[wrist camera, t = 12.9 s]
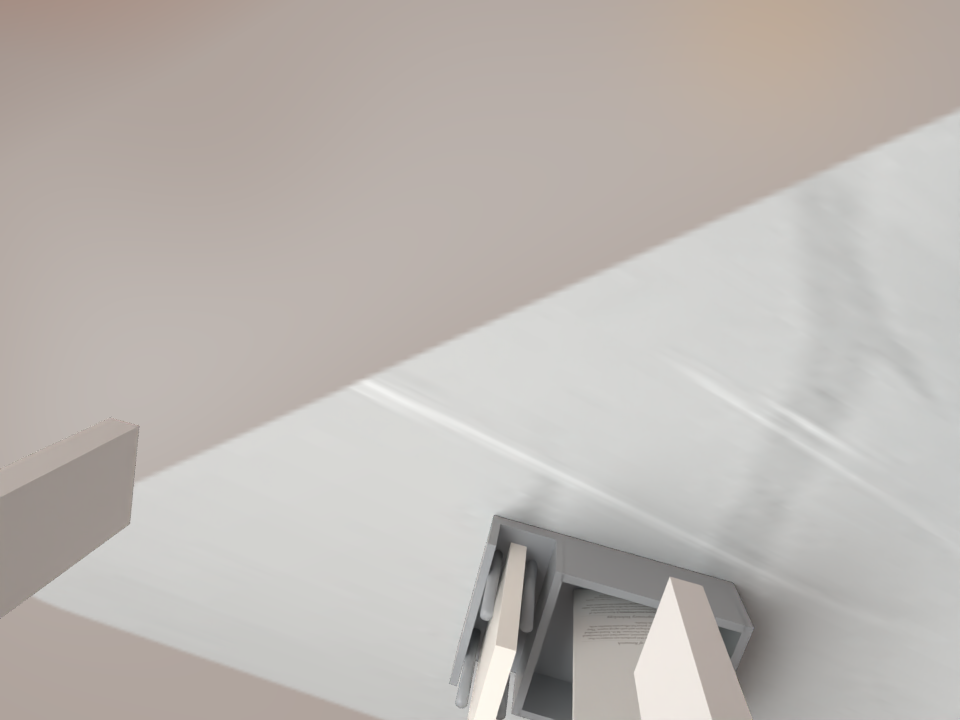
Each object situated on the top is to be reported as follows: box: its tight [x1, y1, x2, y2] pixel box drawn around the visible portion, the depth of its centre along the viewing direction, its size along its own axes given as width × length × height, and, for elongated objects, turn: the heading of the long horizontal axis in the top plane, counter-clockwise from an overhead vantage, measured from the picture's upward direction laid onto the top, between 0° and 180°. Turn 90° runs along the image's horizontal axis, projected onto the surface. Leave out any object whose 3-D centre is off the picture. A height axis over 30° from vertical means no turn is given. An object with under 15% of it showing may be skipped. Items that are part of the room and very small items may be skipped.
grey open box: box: [449, 515, 754, 720], centre depth 41 cm, size 18×12×12 cm, turn 76°
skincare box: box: [572, 589, 657, 720], centre depth 38 cm, size 8×7×16 cm
